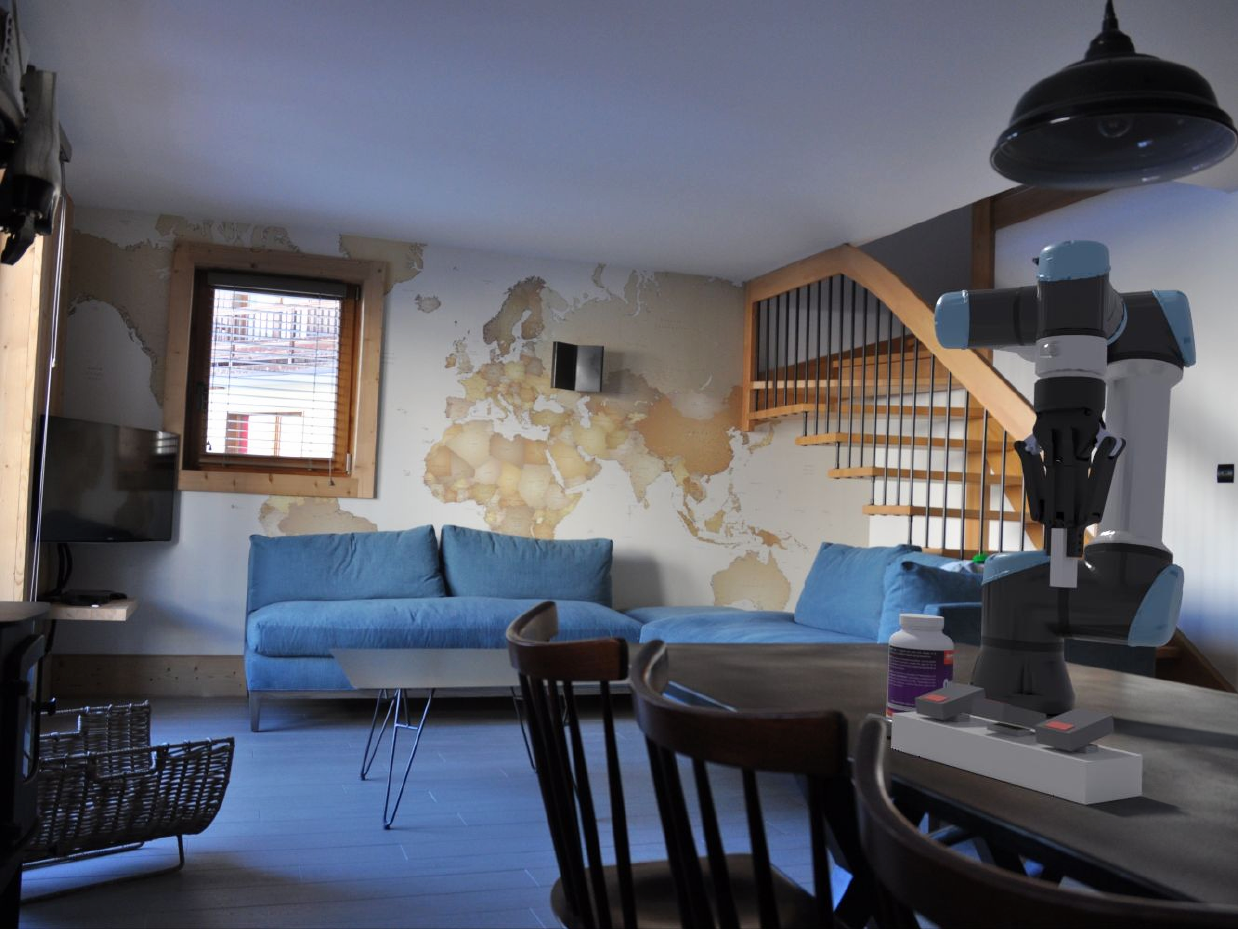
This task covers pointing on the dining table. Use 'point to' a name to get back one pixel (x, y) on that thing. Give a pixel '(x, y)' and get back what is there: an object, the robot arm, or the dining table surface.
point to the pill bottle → (917, 661)
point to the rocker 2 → (1007, 713)
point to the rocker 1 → (948, 701)
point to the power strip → (1018, 756)
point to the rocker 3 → (1074, 729)
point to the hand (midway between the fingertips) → (1063, 586)
